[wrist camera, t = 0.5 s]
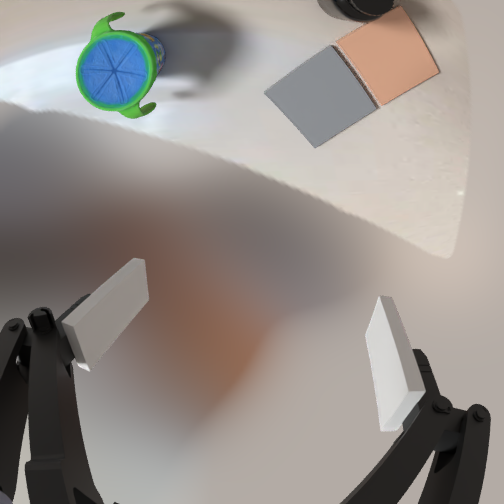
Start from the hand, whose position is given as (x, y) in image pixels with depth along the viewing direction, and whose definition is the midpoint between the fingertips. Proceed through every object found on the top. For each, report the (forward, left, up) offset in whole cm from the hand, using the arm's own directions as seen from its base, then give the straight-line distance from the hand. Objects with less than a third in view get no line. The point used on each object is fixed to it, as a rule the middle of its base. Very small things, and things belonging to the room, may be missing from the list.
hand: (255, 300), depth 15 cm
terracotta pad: (+6, +20, -33) cm, 39 cm away
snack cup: (-17, -7, -33) cm, 38 cm away
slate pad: (+6, +7, -33) cm, 34 cm away
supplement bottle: (-5, +19, -33) cm, 39 cm away
